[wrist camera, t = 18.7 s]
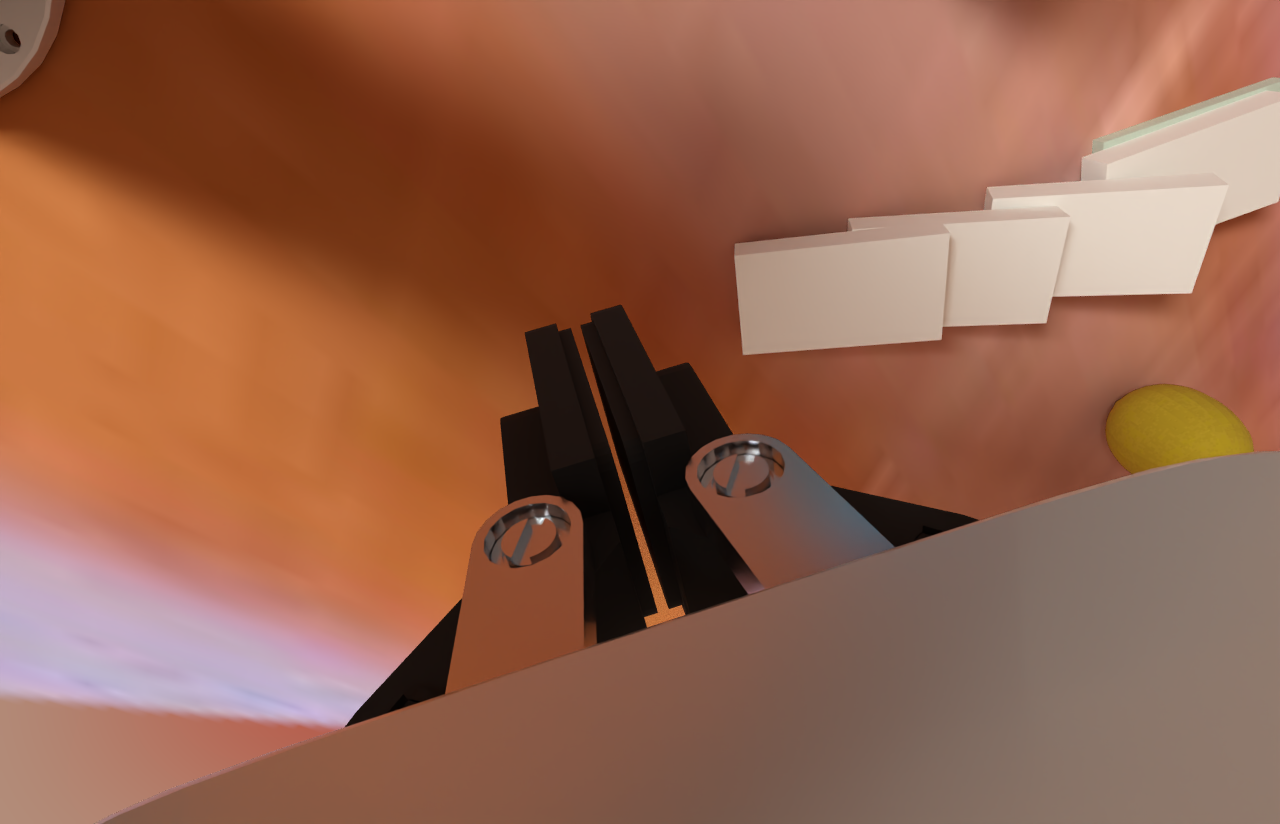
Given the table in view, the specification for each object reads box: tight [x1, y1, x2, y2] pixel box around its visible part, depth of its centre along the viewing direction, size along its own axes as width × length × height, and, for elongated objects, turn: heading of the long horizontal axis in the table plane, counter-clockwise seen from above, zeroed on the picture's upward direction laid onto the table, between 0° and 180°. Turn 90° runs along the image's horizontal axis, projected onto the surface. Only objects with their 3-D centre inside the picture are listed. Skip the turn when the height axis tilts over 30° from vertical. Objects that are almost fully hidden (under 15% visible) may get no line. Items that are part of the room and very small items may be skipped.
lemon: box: [1105, 384, 1254, 474], centre depth 38 cm, size 6×6×8 cm
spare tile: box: [1092, 77, 1280, 154], centre depth 34 cm, size 2×5×9 cm
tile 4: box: [1081, 91, 1280, 225], centre depth 33 cm, size 2×5×9 cm
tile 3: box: [984, 173, 1229, 297], centre depth 32 cm, size 2×5×9 cm
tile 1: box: [734, 221, 950, 355], centre depth 32 cm, size 2×5×9 cm
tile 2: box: [847, 206, 1070, 327], centre depth 32 cm, size 2×5×9 cm
